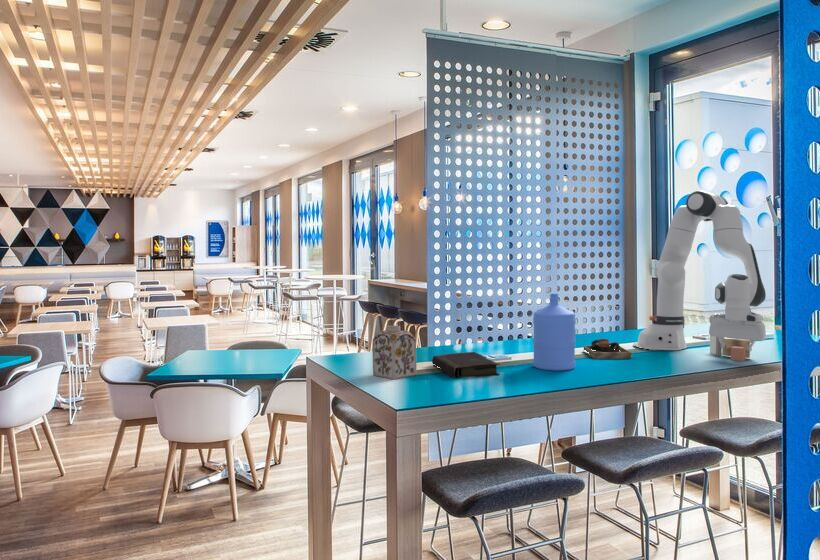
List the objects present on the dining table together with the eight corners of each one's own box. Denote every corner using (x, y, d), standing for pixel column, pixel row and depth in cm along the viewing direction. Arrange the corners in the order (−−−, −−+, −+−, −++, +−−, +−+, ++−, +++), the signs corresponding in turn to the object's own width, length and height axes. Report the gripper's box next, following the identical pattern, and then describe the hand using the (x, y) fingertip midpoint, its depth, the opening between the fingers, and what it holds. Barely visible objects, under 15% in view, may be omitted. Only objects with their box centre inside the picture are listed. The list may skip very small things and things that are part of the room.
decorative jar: (371, 375, 230) (371, 326, 229) (395, 370, 238) (394, 323, 237) (394, 380, 221) (393, 329, 220) (417, 375, 229) (417, 325, 228)
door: (722, 355, 260) (722, 338, 260) (723, 354, 262) (724, 337, 261) (749, 357, 254) (749, 340, 253) (750, 357, 255) (750, 339, 255)
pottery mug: (591, 358, 261) (587, 340, 264) (595, 365, 268) (591, 347, 272) (620, 352, 256) (616, 334, 260) (624, 359, 264) (620, 341, 268)
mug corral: (593, 358, 258) (593, 352, 258) (583, 351, 275) (583, 345, 275) (631, 358, 257) (631, 352, 257) (619, 351, 275) (619, 345, 274)
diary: (453, 380, 223) (453, 366, 223) (432, 367, 247) (431, 355, 247) (502, 376, 228) (502, 362, 228) (476, 363, 252) (476, 351, 252)
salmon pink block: (742, 360, 250) (743, 348, 250) (730, 359, 253) (731, 347, 253) (745, 359, 253) (745, 346, 253) (733, 358, 256) (733, 345, 256)
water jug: (576, 371, 232) (576, 295, 231) (532, 370, 235) (532, 295, 234) (574, 363, 247) (574, 292, 246) (533, 362, 251) (533, 292, 249)
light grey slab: (717, 356, 261) (717, 334, 260) (709, 352, 269) (709, 331, 268) (721, 356, 261) (721, 334, 260) (713, 352, 269) (713, 331, 268)
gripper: (707, 313, 257) (706, 347, 258) (763, 318, 243) (761, 353, 244) (712, 312, 261) (711, 345, 262) (767, 316, 247) (766, 351, 248)
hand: (736, 349), depth 253 cm, fingers open, 8 cm apart
